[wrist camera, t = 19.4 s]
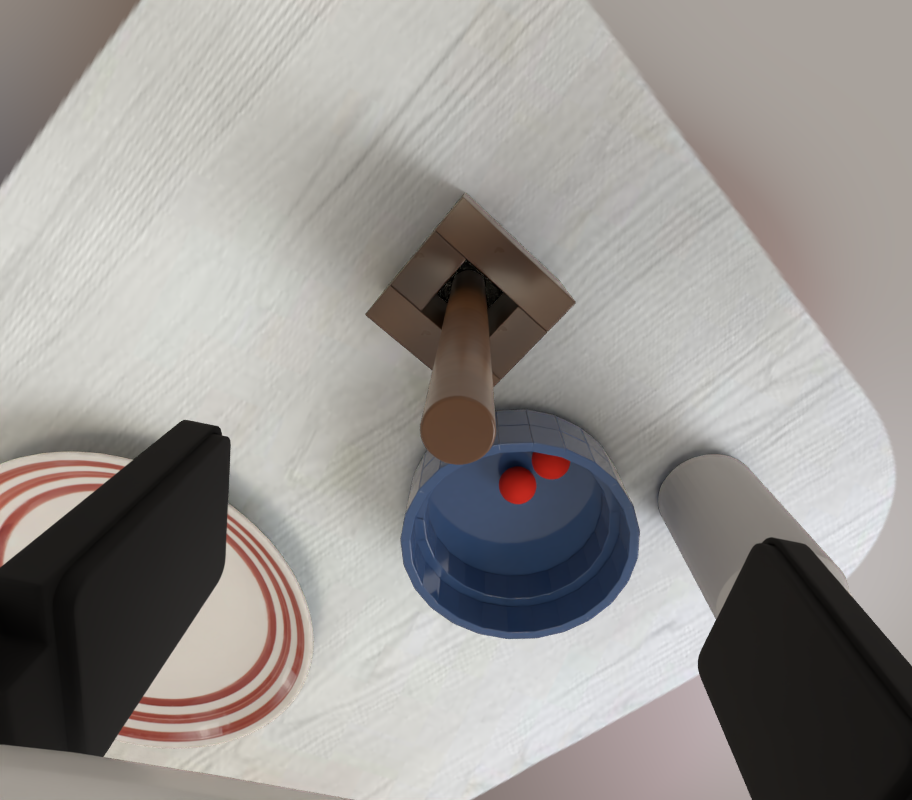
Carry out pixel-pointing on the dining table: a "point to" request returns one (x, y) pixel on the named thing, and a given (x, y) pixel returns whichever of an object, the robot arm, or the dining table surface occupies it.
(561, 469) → the tomato
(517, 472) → the tomato
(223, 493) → the robot arm
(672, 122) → the dining table surface
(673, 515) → the beverage can
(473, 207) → the holder
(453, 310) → the stirring stick
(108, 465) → the dinner plate
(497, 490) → the bowl
